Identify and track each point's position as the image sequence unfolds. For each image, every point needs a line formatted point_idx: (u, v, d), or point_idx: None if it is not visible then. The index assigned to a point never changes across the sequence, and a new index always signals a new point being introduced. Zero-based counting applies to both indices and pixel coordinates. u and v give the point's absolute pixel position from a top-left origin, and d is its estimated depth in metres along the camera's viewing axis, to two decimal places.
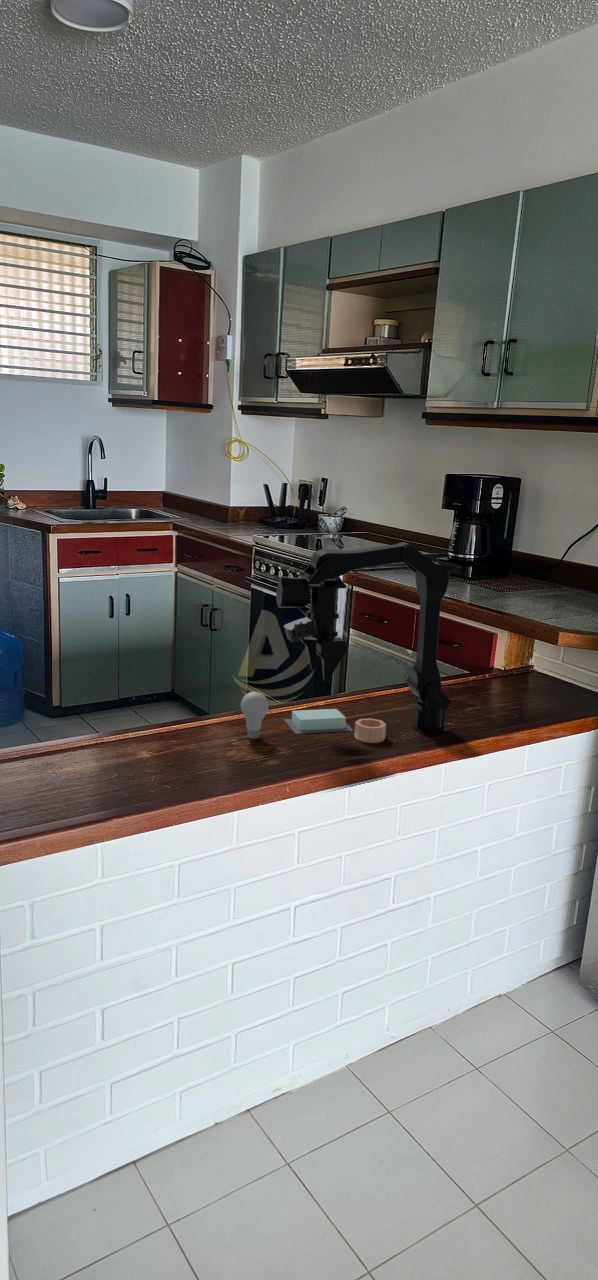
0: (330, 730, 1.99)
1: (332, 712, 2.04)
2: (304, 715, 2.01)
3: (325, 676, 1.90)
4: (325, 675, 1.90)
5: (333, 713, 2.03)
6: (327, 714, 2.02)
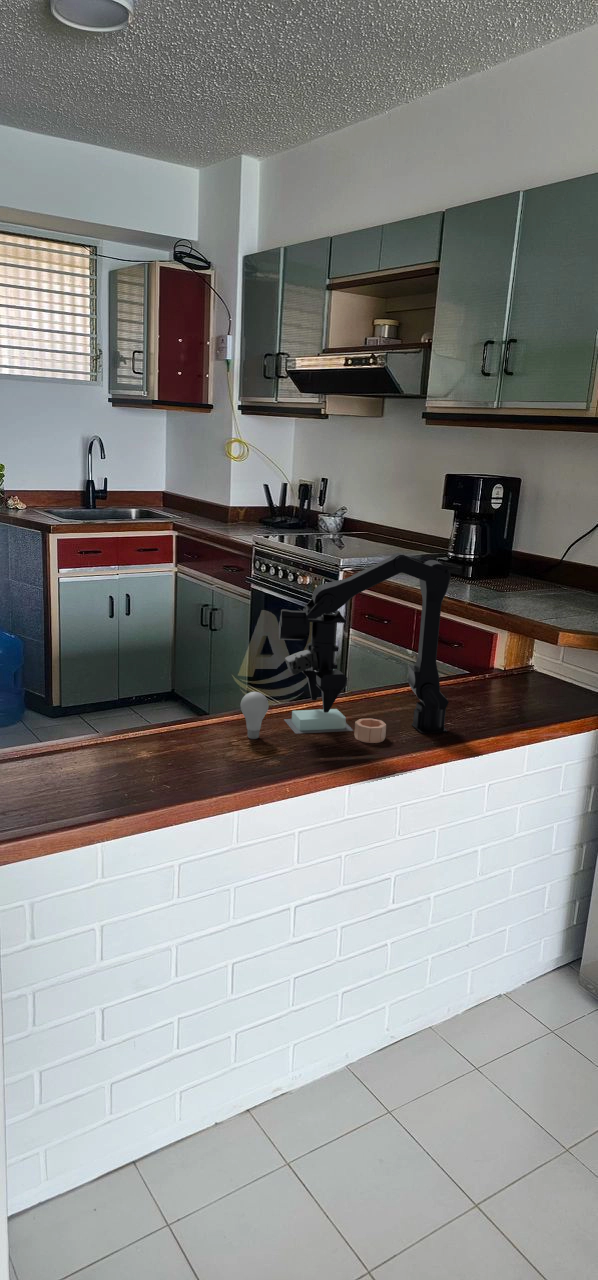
0: (330, 730, 1.99)
1: (332, 712, 2.04)
2: (304, 715, 2.01)
3: (325, 707, 1.96)
4: (325, 706, 1.96)
5: (333, 713, 2.03)
6: (327, 714, 2.02)
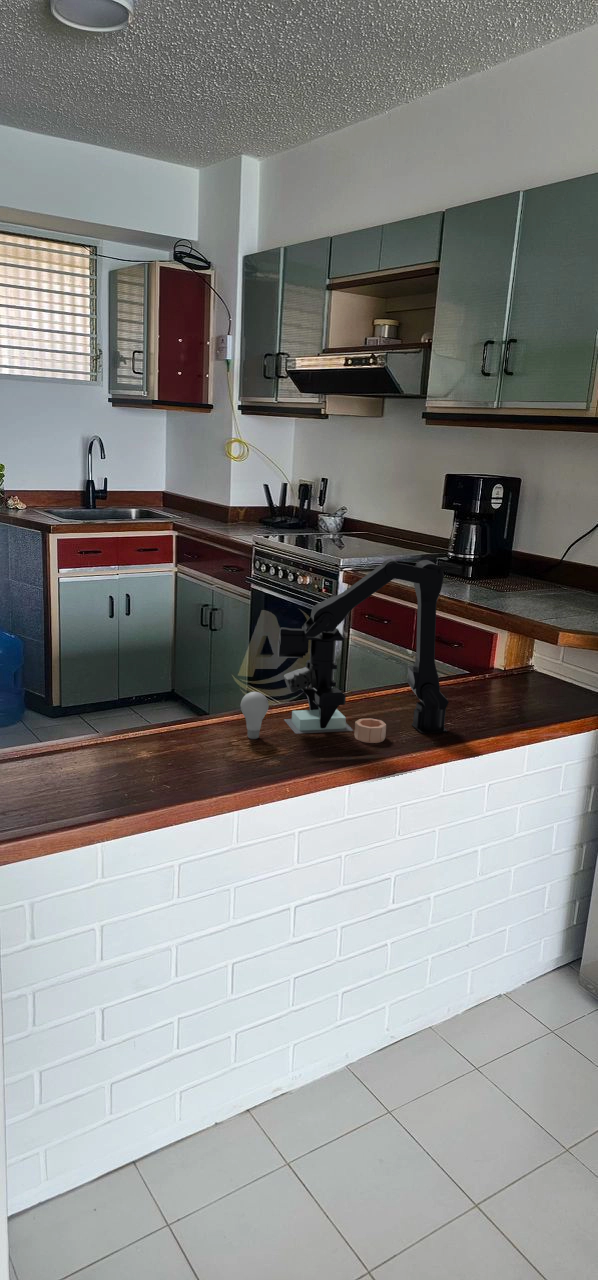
0: (330, 730, 1.99)
1: None
2: (304, 715, 2.01)
3: (322, 723, 1.98)
4: (322, 722, 1.98)
5: None
6: None
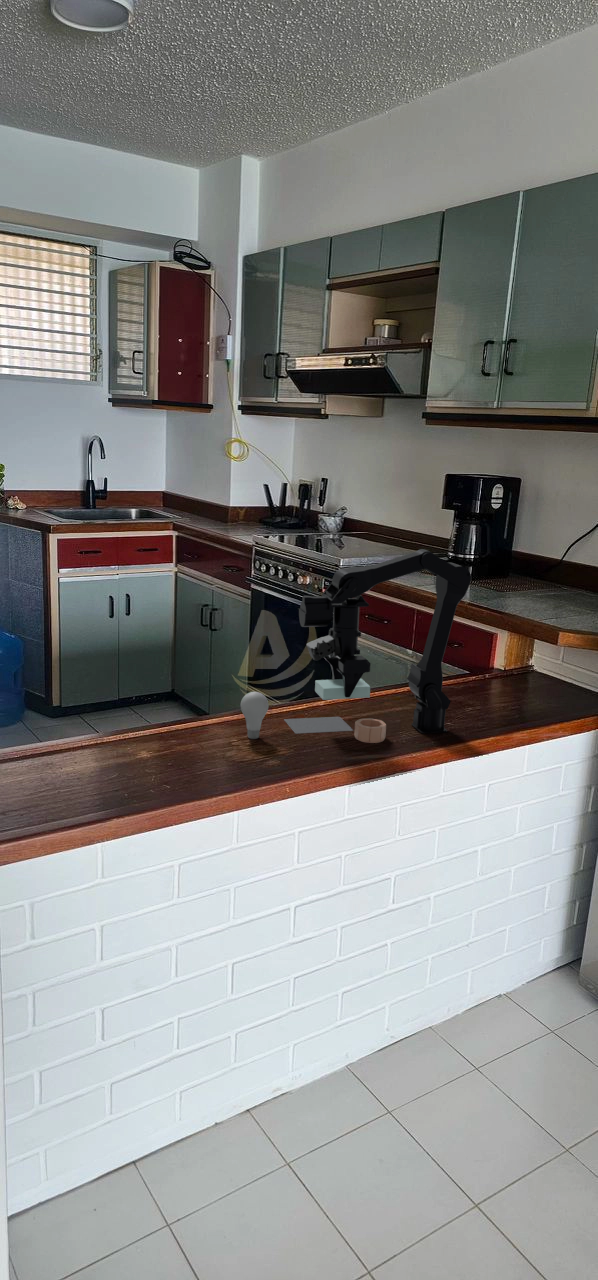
0: (330, 730, 1.99)
1: None
2: (328, 684, 1.96)
3: (346, 692, 1.94)
4: (346, 691, 1.94)
5: None
6: None
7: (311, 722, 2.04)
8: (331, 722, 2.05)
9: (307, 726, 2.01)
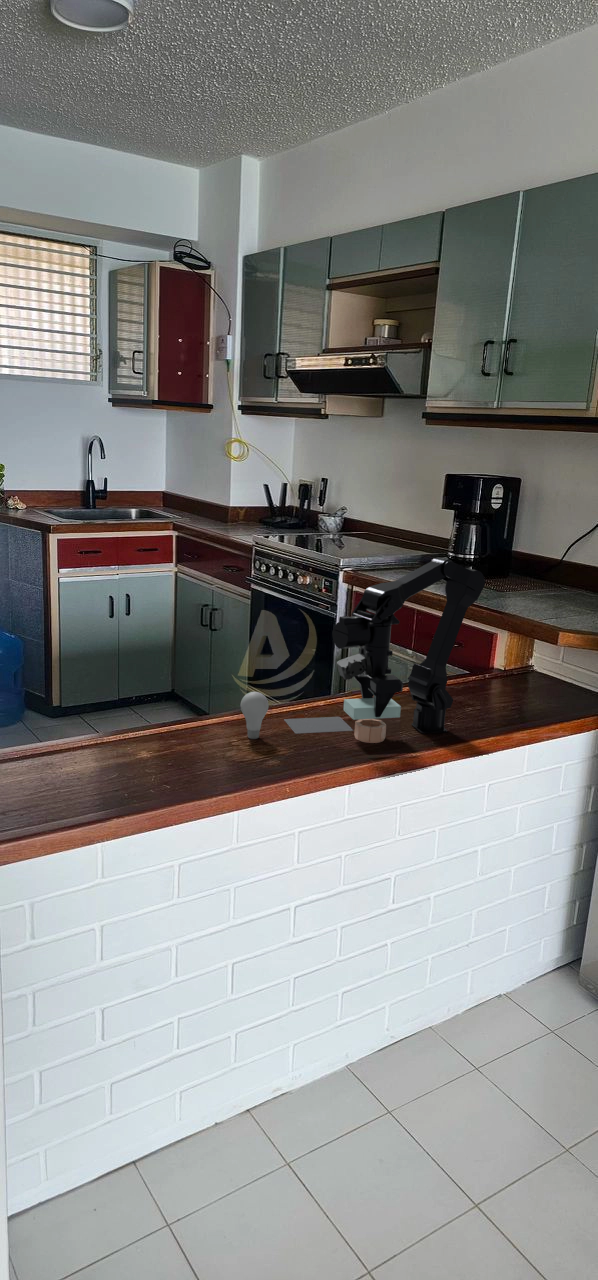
0: (330, 730, 1.99)
1: None
2: (357, 703, 1.93)
3: (376, 712, 1.90)
4: (376, 711, 1.90)
5: None
6: None
7: (311, 722, 2.04)
8: (331, 722, 2.05)
9: (307, 726, 2.01)
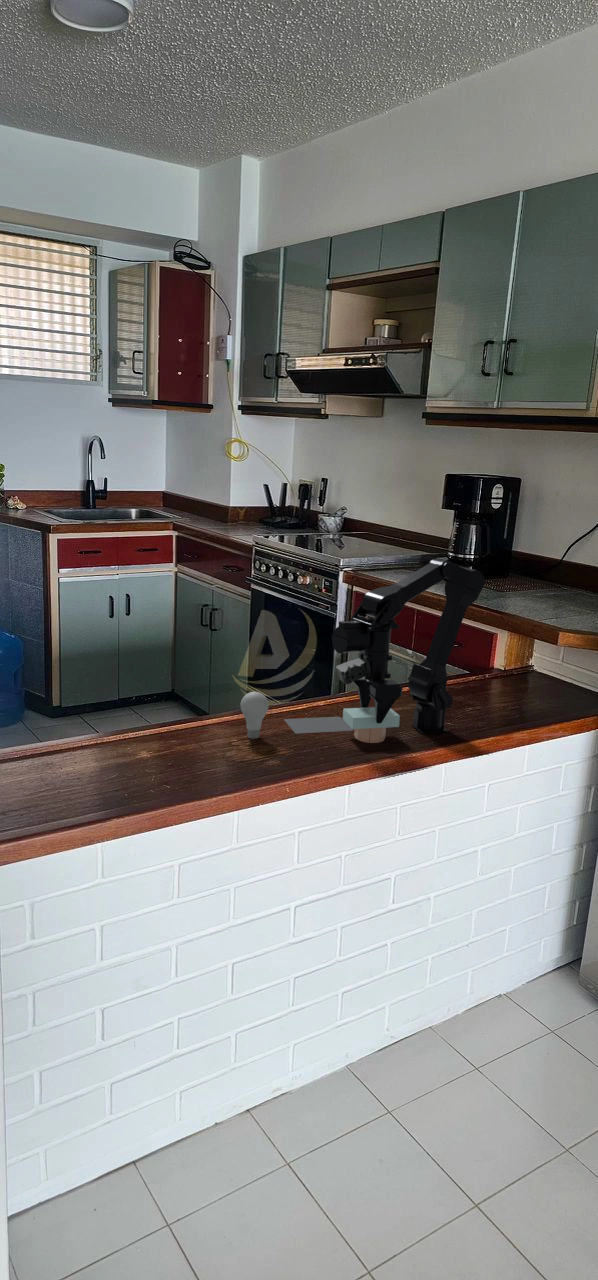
0: (330, 730, 1.99)
1: None
2: (356, 713, 1.93)
3: (378, 718, 1.90)
4: (378, 717, 1.89)
5: None
6: None
7: (311, 722, 2.04)
8: (331, 722, 2.05)
9: (307, 726, 2.01)
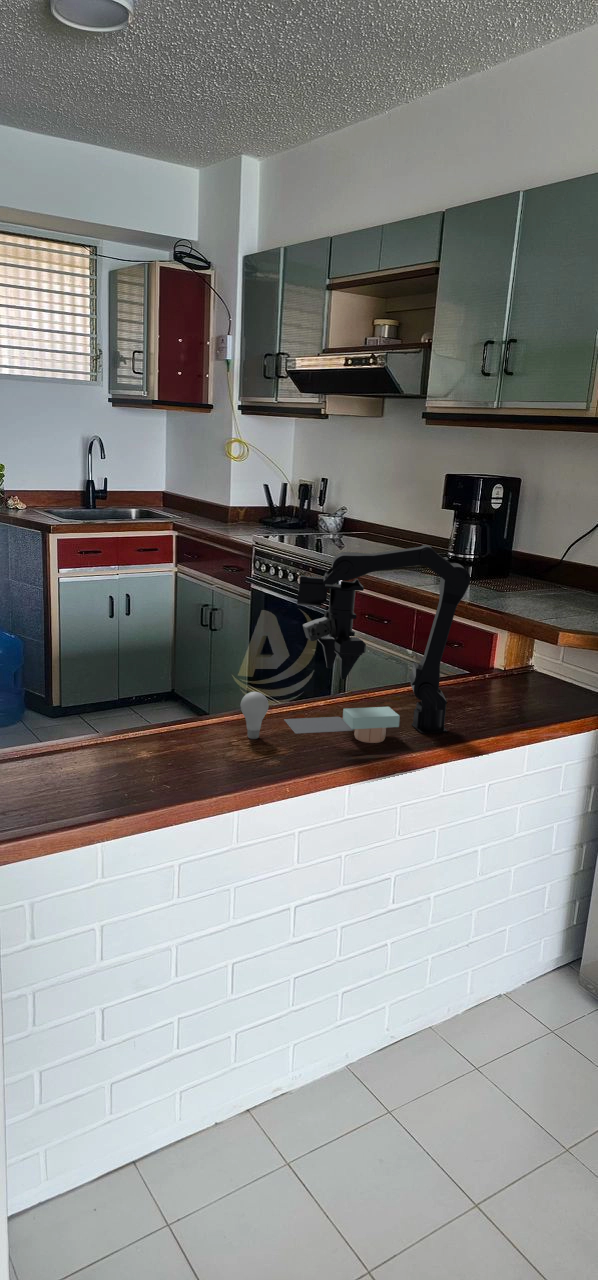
0: (330, 730, 1.99)
1: (384, 710, 1.97)
2: (356, 713, 1.93)
3: (342, 674, 1.98)
4: (342, 673, 1.98)
5: (386, 711, 1.96)
6: (380, 712, 1.95)
7: (311, 722, 2.04)
8: (331, 722, 2.05)
9: (307, 726, 2.01)
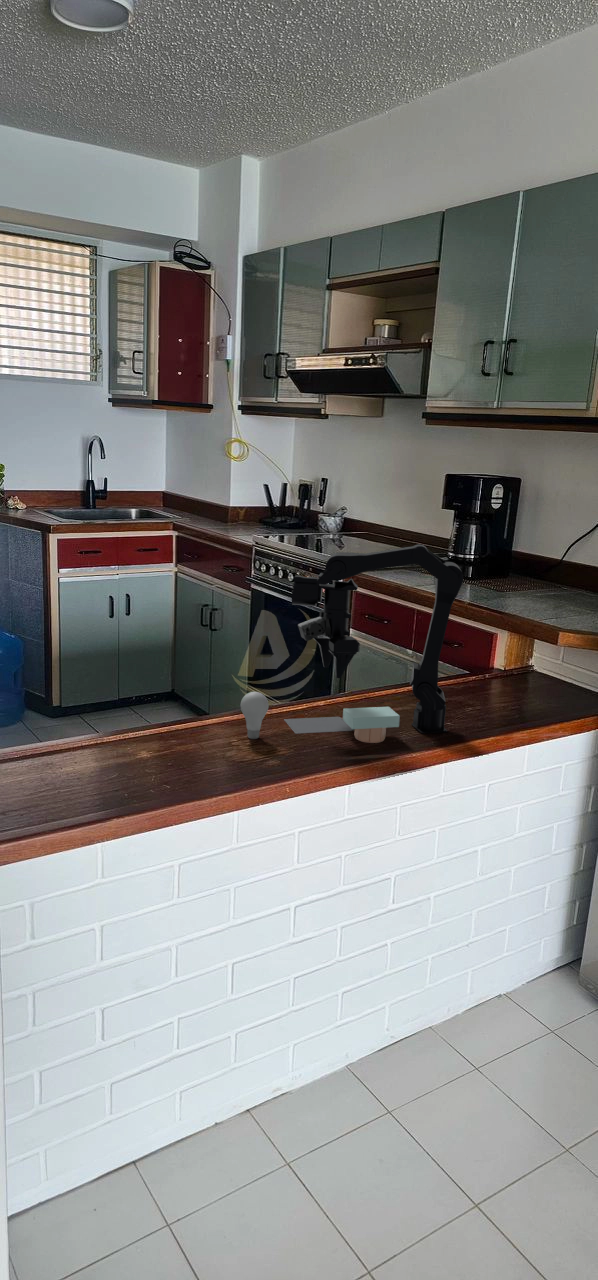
0: (330, 730, 1.99)
1: (384, 710, 1.97)
2: (356, 713, 1.93)
3: (337, 673, 2.00)
4: (337, 672, 1.99)
5: (386, 711, 1.96)
6: (380, 712, 1.95)
7: (311, 722, 2.04)
8: (331, 722, 2.05)
9: (307, 726, 2.01)
